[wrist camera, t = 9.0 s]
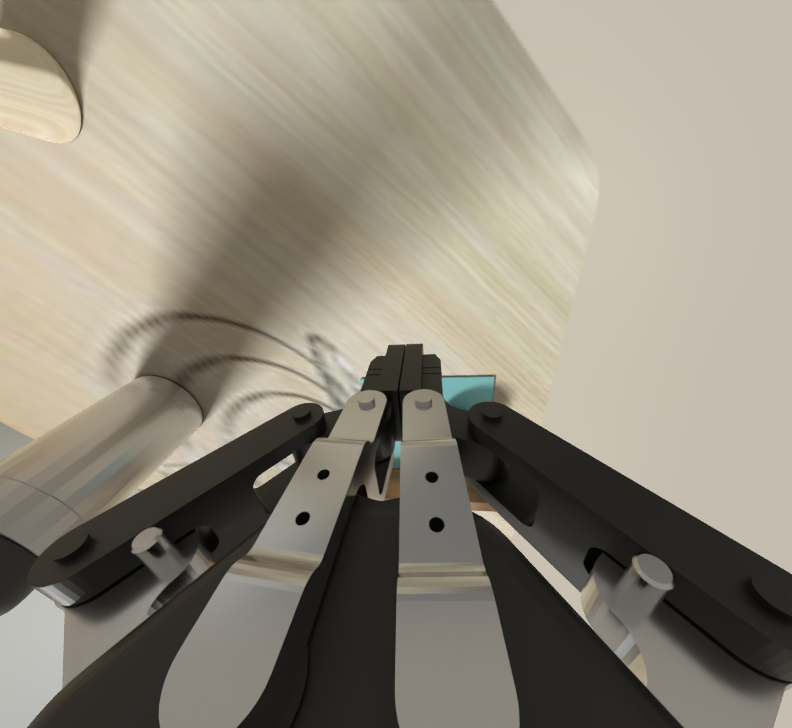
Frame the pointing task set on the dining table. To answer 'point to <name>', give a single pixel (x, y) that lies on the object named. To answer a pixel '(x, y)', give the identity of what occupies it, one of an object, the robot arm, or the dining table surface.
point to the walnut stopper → (474, 497)
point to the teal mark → (459, 397)
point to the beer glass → (35, 91)
